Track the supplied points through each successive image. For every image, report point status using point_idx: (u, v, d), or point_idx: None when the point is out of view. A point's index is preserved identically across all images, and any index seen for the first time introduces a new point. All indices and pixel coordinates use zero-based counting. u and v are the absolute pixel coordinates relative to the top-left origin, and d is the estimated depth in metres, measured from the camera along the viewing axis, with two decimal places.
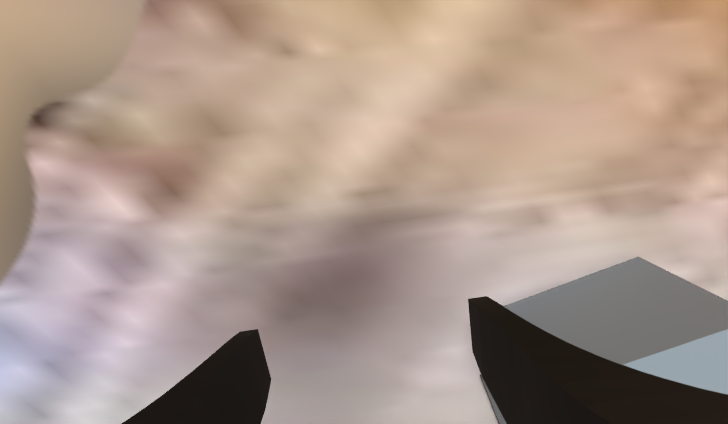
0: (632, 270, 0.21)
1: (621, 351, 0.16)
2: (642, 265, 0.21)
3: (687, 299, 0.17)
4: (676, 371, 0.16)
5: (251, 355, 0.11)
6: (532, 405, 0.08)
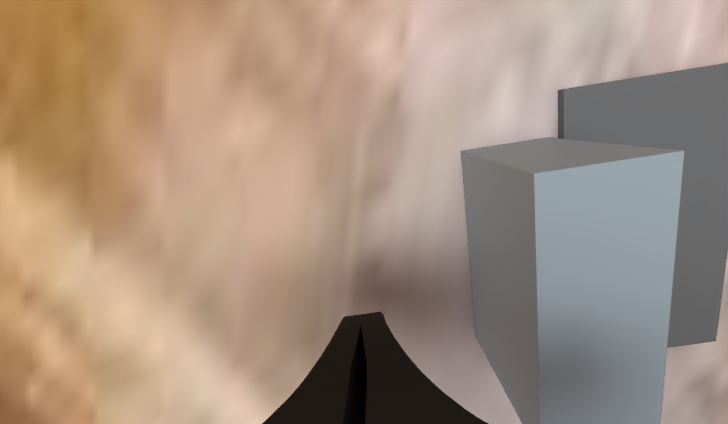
0: (469, 179, 0.15)
1: (527, 338, 0.11)
2: (467, 163, 0.15)
3: (501, 195, 0.12)
4: (582, 296, 0.10)
5: None
6: None
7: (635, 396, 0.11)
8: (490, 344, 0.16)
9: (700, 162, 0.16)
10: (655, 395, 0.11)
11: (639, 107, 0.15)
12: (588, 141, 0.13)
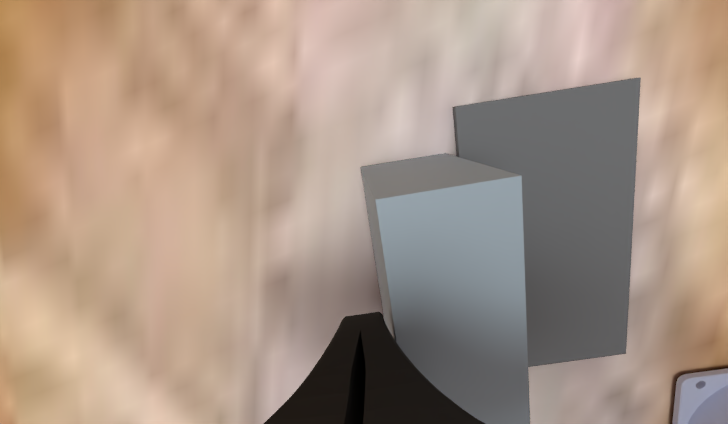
0: (366, 196, 0.15)
1: None
2: (363, 180, 0.15)
3: (373, 216, 0.12)
4: (439, 319, 0.10)
5: None
6: None
7: (503, 415, 0.11)
8: None
9: (596, 178, 0.16)
10: (522, 414, 0.11)
11: (531, 124, 0.15)
12: (468, 160, 0.13)
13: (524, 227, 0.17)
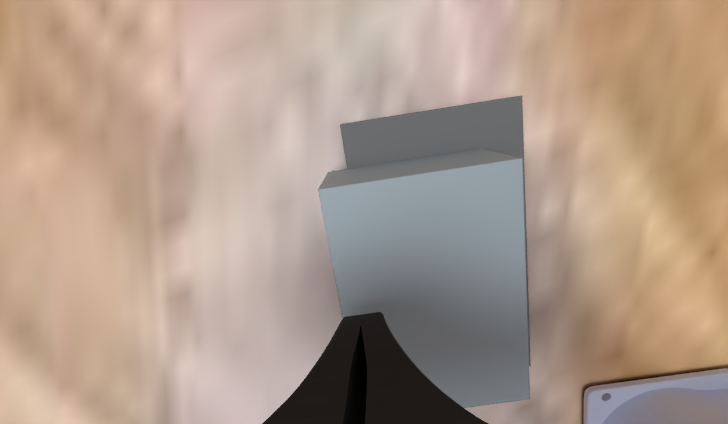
0: (355, 217, 0.12)
1: (507, 309, 0.13)
2: (349, 199, 0.12)
3: (456, 200, 0.12)
4: None
5: None
6: None
7: None
8: None
9: None
10: None
11: (417, 141, 0.15)
12: (394, 162, 0.16)
13: None
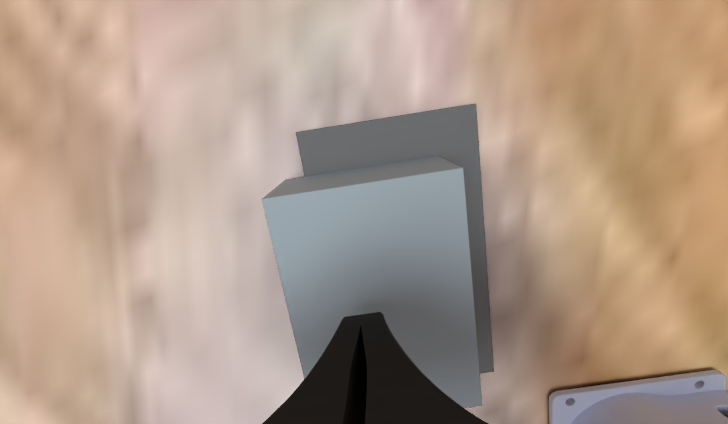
0: (300, 226, 0.12)
1: (456, 317, 0.13)
2: (293, 208, 0.12)
3: (399, 209, 0.12)
4: None
5: None
6: None
7: None
8: None
9: None
10: None
11: (373, 149, 0.15)
12: (351, 169, 0.16)
13: None
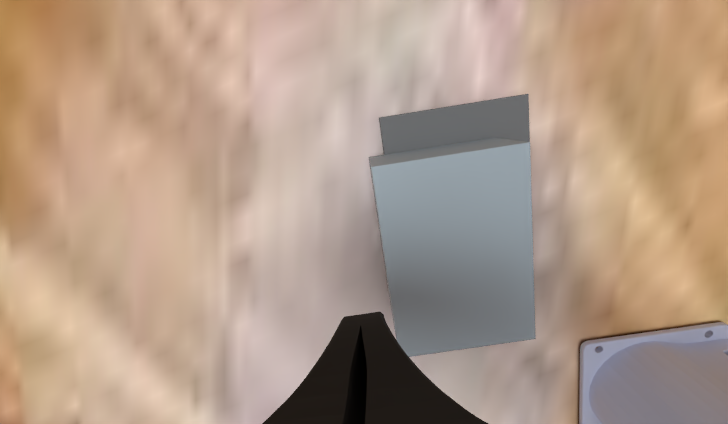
0: (399, 189, 0.15)
1: (518, 264, 0.17)
2: (395, 174, 0.15)
3: (478, 175, 0.15)
4: None
5: None
6: None
7: None
8: (444, 330, 0.17)
9: None
10: None
11: (442, 132, 0.19)
12: None
13: None
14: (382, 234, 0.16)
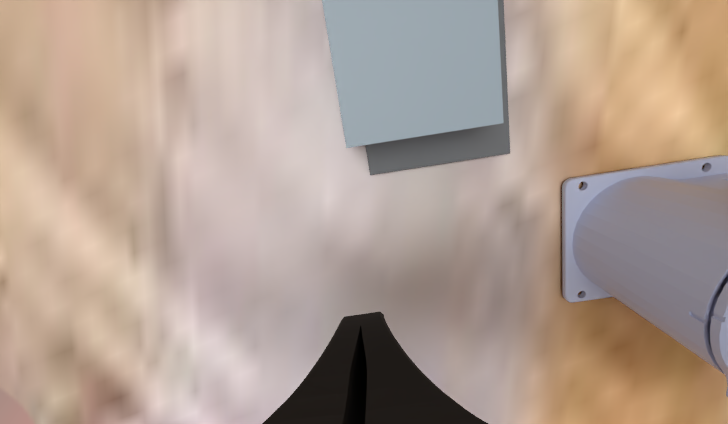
0: None
1: (480, 18, 0.14)
2: None
3: None
4: None
5: None
6: None
7: None
8: (397, 110, 0.15)
9: None
10: None
11: None
12: None
13: None
14: None
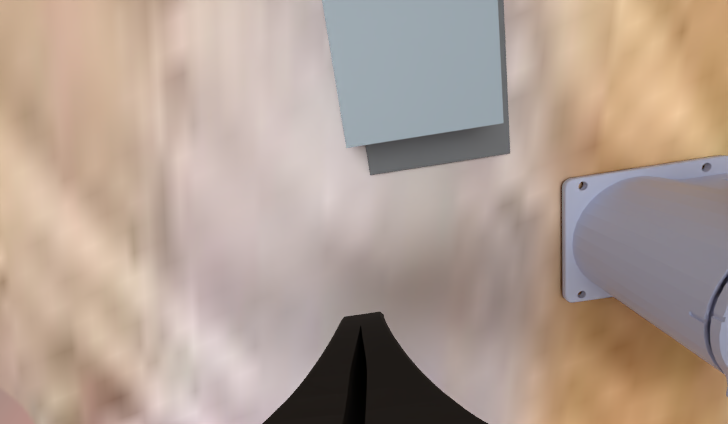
0: None
1: (480, 18, 0.14)
2: None
3: None
4: None
5: None
6: None
7: None
8: (397, 110, 0.15)
9: None
10: None
11: None
12: None
13: None
14: None
